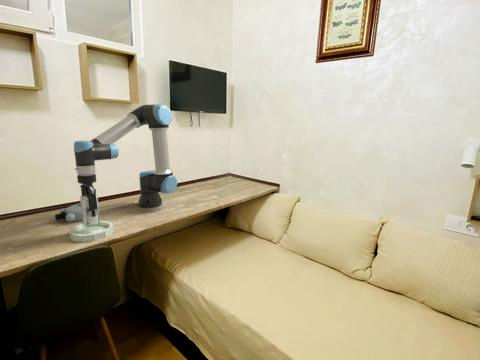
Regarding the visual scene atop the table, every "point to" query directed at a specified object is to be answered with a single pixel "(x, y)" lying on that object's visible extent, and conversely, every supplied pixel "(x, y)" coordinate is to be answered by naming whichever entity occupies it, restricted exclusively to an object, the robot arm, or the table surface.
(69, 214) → the figurine
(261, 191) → the table surface
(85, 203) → the syrup box
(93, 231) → the round bowl
